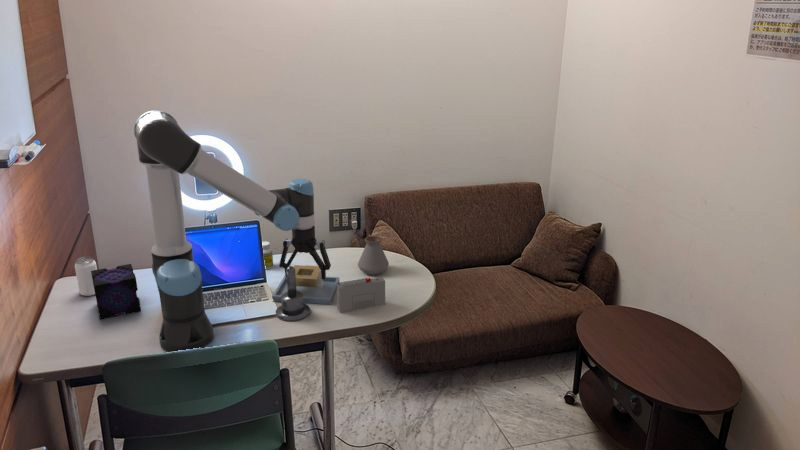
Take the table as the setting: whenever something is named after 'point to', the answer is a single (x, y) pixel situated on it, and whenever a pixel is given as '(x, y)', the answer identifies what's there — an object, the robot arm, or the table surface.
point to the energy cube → (115, 291)
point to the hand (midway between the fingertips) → (306, 286)
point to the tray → (311, 291)
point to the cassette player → (360, 294)
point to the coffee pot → (373, 255)
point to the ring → (307, 275)
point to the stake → (292, 301)
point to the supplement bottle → (267, 255)
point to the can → (85, 275)
